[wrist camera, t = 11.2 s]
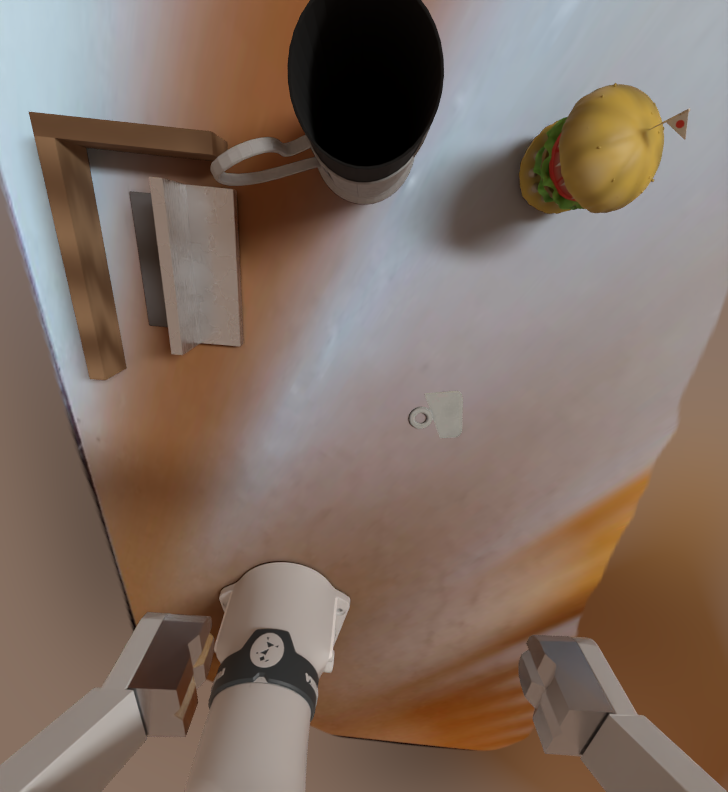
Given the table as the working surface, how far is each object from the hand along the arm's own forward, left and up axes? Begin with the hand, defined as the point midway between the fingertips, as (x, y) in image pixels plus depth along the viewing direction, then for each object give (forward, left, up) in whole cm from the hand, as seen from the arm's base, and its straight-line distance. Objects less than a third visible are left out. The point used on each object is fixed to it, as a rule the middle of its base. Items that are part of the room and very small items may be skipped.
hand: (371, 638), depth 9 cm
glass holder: (+15, +4, -31) cm, 35 cm away
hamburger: (+16, -15, -31) cm, 38 cm away
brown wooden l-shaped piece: (+4, +20, -31) cm, 37 cm away
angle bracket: (+5, +15, -31) cm, 35 cm away
